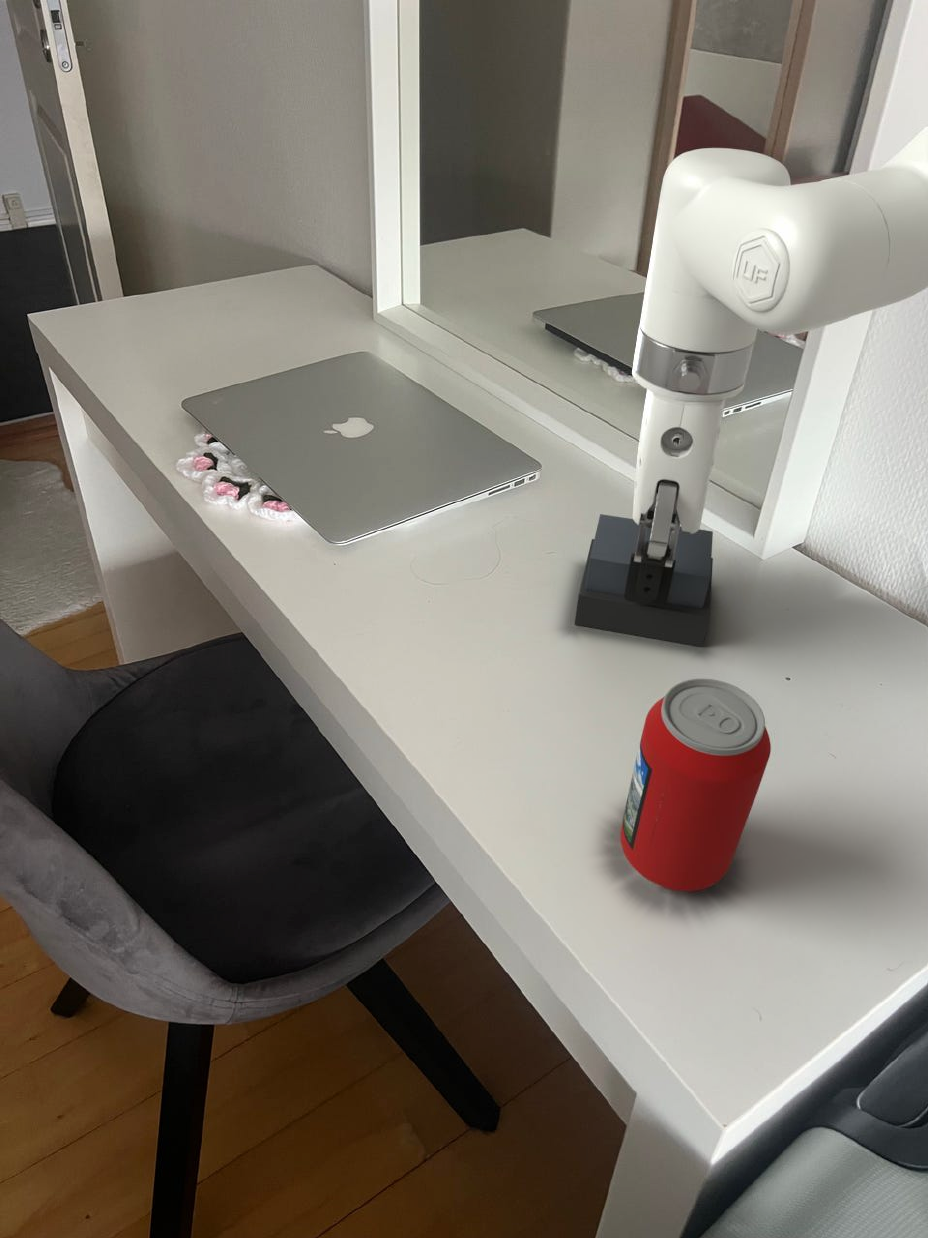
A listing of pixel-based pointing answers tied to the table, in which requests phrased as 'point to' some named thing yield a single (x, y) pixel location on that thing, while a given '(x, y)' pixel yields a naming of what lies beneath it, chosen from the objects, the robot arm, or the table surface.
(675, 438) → the robot arm
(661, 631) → the pad base
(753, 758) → the beverage can
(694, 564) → the pad top
